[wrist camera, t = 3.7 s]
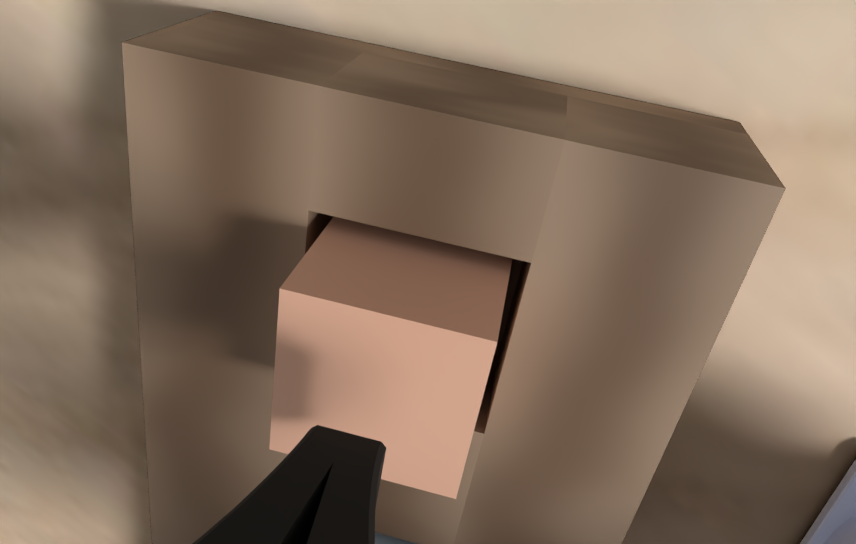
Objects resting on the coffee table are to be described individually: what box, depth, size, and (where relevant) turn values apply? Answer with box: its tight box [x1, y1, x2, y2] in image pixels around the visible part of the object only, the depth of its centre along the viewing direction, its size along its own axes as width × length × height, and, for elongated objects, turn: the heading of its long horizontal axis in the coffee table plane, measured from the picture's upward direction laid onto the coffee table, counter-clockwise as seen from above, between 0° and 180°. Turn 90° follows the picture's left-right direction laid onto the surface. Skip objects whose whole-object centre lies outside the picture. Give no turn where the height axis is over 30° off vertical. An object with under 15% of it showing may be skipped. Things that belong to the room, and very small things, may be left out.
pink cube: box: [269, 217, 512, 499], centre depth 16 cm, size 4×4×4 cm
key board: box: [122, 11, 786, 544], centre depth 24 cm, size 14×31×4 cm, turn 171°
